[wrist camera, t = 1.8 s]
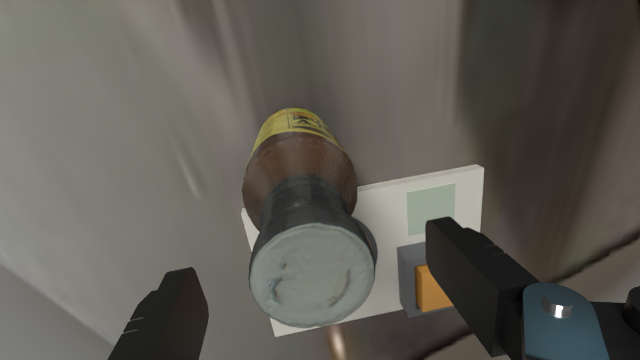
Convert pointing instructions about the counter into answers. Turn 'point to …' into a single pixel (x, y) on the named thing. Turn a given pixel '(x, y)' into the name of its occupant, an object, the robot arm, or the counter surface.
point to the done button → (429, 291)
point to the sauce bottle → (305, 224)
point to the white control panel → (403, 232)
